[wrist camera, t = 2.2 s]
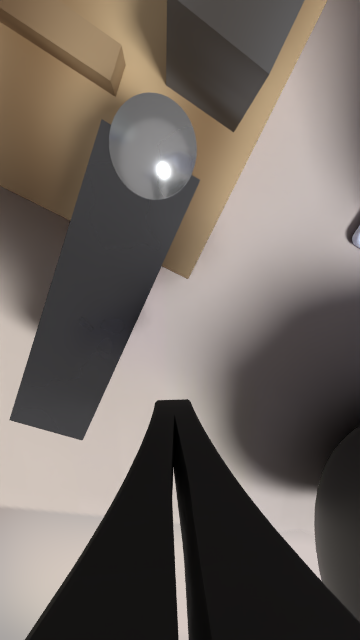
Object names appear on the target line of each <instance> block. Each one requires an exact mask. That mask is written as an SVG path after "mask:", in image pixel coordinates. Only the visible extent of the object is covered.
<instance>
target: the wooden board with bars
mask: <svg viewBox="0 0 360 640" xmlns="http://www.w3.org/2000/svg"><path fill="white" fill-rule="evenodd" d="M326 2H327V0H0V186H1V187H3V188H5V189H7V190H9V191H11V192H13V193H15V194H17V195H19V196H21V197H23V198H25V199H27V200H29V201H31V202H33V203H35V204H37V205H39V206H41V207H43V208H46V209H48V210H50V211H52V212H54V213H56V214H58V215H60V216H62V217H64V218H66V219H68V220H70V221H71V217H72V214H73V211H74V208H75V204H76V201H77V198H78V194H79V191H80V188H81V185H82V181H83V178H84V175H85V172H86V168H87V165H88V162H89V159H90V155H91V152H92V149H93V145H94V142H95V139H96V136H97V132H98V129H99V126H100V123H101V119H103V120H104V121H106V122H107V123H109V124H112V121H113V119H114V116H115V115H116V113H117V111H118V110H119V108H120V107H121V106H122V105H123V104H124V103H125V102H126V101H127V100H128V99H130V98H131V97H133V96H135V95H138V94H141V93H148V92H151V93H158V94H162V95H164V96H167V97H169V98H170V99H172V100H173V101H175V102H176V103H177V104H178V105H179V106H180V107H181V108H182V109H183V110H184V112H185V113H186V114H187V116H188V118H189V120H190V121H191V124H192V126H193V129H194V132H195V137H196V144H197V156H196V162H195V166H194V169H193V172H192V175H193V176H195V177H196V178H198V179H200V182H199V185H198V187H197V189H196V191H195V193H194V196H193V198H192V200H191V202H190V204H189V207H188V209H187V211H186V213H185V215H184V218H183V220H182V222H181V224H180V226H179V229H178V231H177V233H176V235H175V237H174V240H173V242H172V244H171V246H170V248H169V251H168V253H167V255H166V257H165V259H164V262H163V264H162V267H165V268H167V269H169V270H171V271H173V272H175V273H177V274H179V275H181V276H183V277H185V278H187V279H188V278H189V276H190V274H191V272H192V270H193V268H194V266H195V264H196V262H197V260H198V258H199V256H200V254H201V252H202V250H203V248H204V246H205V244H206V242H207V240H208V238H209V236H210V234H211V232H212V230H213V228H214V226H215V224H216V222H217V220H218V218H219V216H220V214H221V212H222V210H223V208H224V206H225V204H226V202H227V200H228V198H229V196H230V194H231V192H232V190H233V188H234V186H235V184H236V182H237V180H238V178H239V176H240V174H241V172H242V170H243V168H244V166H245V164H246V162H247V160H248V158H249V156H250V154H251V152H252V150H253V148H254V146H255V144H256V142H257V140H258V138H259V136H260V134H261V132H262V130H263V128H264V126H265V124H266V122H267V120H268V118H269V116H270V114H271V112H272V110H273V108H274V106H275V104H276V102H277V100H278V98H279V96H280V94H281V92H282V90H283V88H284V86H285V84H286V82H287V80H288V78H289V76H290V74H291V72H292V70H293V68H294V66H295V64H296V62H297V60H298V58H299V56H300V54H301V52H302V50H303V48H304V46H305V44H306V42H307V40H308V38H309V36H310V34H311V32H312V30H313V28H314V26H315V24H316V22H317V20H318V18H319V16H320V14H321V12H322V10H323V8H324V6H325V4H326Z"/></svg>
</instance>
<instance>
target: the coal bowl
mask: <svg viewBox="0 0 360 640" xmlns="http://www.w3.org/2000/svg"><path fill="white" fill-rule="evenodd" d="M314 525H315V542H316V552H317V558H318V564H319V571H320V575H321V580H322V582H323V583H324V585H325V586H326V587H327V588H328V589H329V590H330V591H331V592H332V593H333V594H334V595H335V596H336V597H337V598H338V599H339V600H340V602H341V603H342V604H343V605H344V606H345V607H346V608H347V609H348V610H349V611H350V612H351V613H352V614H353V615H354V616H355V617H356V618H357V620H358V621H359V622H360V426H359V427H357V428H356V429H355V430H353V431H352V432H351V433H350V434H348V435H347V436H346V437H345V438H344V439H343V440H342V441H341V442H340V444H339V445H338V446H337V447H336V448H335V450H334V451H333V453H332V454H331V456H330V458H329V459H328V461H327V463H326V465H325V467H324V470H323V472H322V475H321V479H320V482H319V486H318V489H317V496H316V503H315V522H314Z"/></svg>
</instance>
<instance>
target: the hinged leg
mask: <svg viewBox="0 0 360 640" xmlns="http://www.w3.org/2000/svg"><path fill="white" fill-rule="evenodd" d="M196 156H197V144H196V137H195V132H194V129H193V126H192V124H191V121H190V120H189V118H188V116H187V114H186V113H185V112H184V110H183V109H182V108H181V107H180V106H179V105H178V104H177V103H176V102H175V101H173V100H172V99H170V98H169V97H167V96H164V95H162V94H158V93H151V92H148V93H141V94H138V95H135V96H133V97H131V98H130V99H128V100H127V101H126V102H125V103H124V104H123V105H122V106H121V107H120V108H119V110H118V111H117V113H116V115H115V116H114V119H113V121H112V124H109V123H107V122H106V121H104V120H103V119H101V123H100V126H99V129H98V132H97V136H96V139H95V142H94V145H93V149H92V152H91V155H90V159H89V162H88V165H87V168H86V172H85V175H84V178H83V181H82V185H81V188H80V191H79V194H78V198H77V201H76V204H75V208H74V211H73V214H72V217H71V221H70V224H69V227H68V230H67V234H66V237H65V240H64V244H63V247H62V250H61V253H60V257H59V260H58V263H57V266H56V270H55V273H54V276H53V279H52V283H51V286H50V289H49V293H48V296H47V299H46V302H45V306H44V309H43V312H42V315H41V319H40V322H39V325H38V329H37V332H36V335H35V338H34V342H33V345H32V348H31V351H30V355H29V358H28V361H27V364H26V368H25V371H24V374H23V378H22V381H21V384H20V387H19V391H18V394H17V397H16V400H15V404H14V407H13V410H12V414H11V417H10V420H11V421H14V422H18V423H22V424H25V425H29V426H32V427H36V428H40V429H43V430H47V431H50V432H54V433H58V434H61V435H65V436H68V437H72V438H76V439H79V440H83V438H84V436H85V434H86V432H87V429H88V427H89V425H90V423H91V420H92V418H93V416H94V414H95V412H96V409H97V407H98V405H99V403H100V401H101V398H102V396H103V394H104V392H105V390H106V387H107V385H108V383H109V381H110V379H111V376H112V374H113V372H114V370H115V368H116V365H117V363H118V361H119V359H120V357H121V354H122V352H123V350H124V348H125V346H126V343H127V341H128V339H129V337H130V334H131V332H132V330H133V328H134V326H135V323H136V321H137V319H138V317H139V315H140V312H141V310H142V308H143V306H144V304H145V301H146V299H147V297H148V295H149V293H150V290H151V288H152V286H153V284H154V282H155V279H156V277H157V275H158V273H159V271H160V268H161V266H162V264H163V262H164V259H165V257H166V255H167V253H168V251H169V248H170V246H171V244H172V242H173V240H174V237H175V235H176V233H177V231H178V229H179V226H180V224H181V222H182V220H183V218H184V215H185V213H186V211H187V209H188V207H189V204H190V202H191V200H192V198H193V196H194V193H195V191H196V189H197V187H198V185H199V182H200V179H198V178H196V177H195V176H193V175H192V172H193V169H194V166H195V162H196Z"/></svg>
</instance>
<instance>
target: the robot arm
mask: <svg viewBox="0 0 360 640" xmlns="http://www.w3.org/2000/svg"><path fill="white" fill-rule="evenodd" d="M352 241H353V244H354V245H356V246H357V247H359V248H360V225H359V227H358V228H357V230H356V231H355V233H354V235H353V237H352ZM173 467H174V476H175V484H176V492H177V500H178V509H179V517H180V525H181V533H182V541H183V552H184V563H185V581H186V598H187V616H188V634H189V640H360V622H359V621H358V620H357V618H356V617H355V616H354V615H353V614H352V613H351V612H350V611H349V610H348V609H347V608H346V607H345V606H344V605H343V604H342V603H341V602H340V600H339V599H338V598H337V597H336V596H335V595H334V594H333V593H332V592H331V591H330V590H329V589H328V588H327V587H326V586H325V585H324V583H323V582H322V581H321V580H320V579H319V578H318V577H317V576H316V575H315V574H314V573H313V572H312V570H311V569H310V568H309V567H308V566H307V565H306V564H305V562H304V561H303V560H302V559H301V558H300V557H299V556H298V554H297V553H296V552H295V551H294V550H293V549H292V548H291V546H290V545H289V544H288V543H287V542H286V541H285V540H284V539H283V537H282V536H281V535H280V534H279V533H278V532H277V531H276V529H275V528H274V527H273V526H272V525H271V523H270V522H269V521H268V520H267V518H266V517H265V516H264V515H263V513H262V512H261V511H260V510H259V509H258V507H257V506H256V505H255V504H254V502H253V501H252V500H251V498H250V497H249V496H248V494H247V493H246V492H245V491H244V489H243V488H242V487H241V485H240V484H239V482H238V481H237V480H236V478H235V477H234V476H233V474H232V473H231V471H230V470H229V468H228V467H227V465H226V464H225V462H224V461H223V459H222V458H221V456H220V455H219V453H218V452H217V450H216V449H215V447H214V445H213V444H212V442H211V440H210V439H209V437H208V435H207V434H206V432H205V430H204V429H203V427H202V425H201V423H200V421H199V419H198V417H197V415H196V413H195V411H194V409H193V407H192V404H191V402H190V401H189V400H188V399H186V400H158V401H157V402H156V403H155V407H154V411H153V415H152V418H151V421H150V424H149V427H148V429H147V432H146V434H145V437H144V439H143V441H142V444H141V446H140V449H139V451H138V453H137V455H136V457H135V459H134V461H133V464H132V466H131V468H130V470H129V472H128V474H127V476H126V478H125V480H124V482H123V484H122V486H121V487H120V489H119V491H118V493H117V495H116V497H115V499H114V500H113V502H112V504H111V506H110V507H109V509H108V511H107V513H106V514H105V516H104V518H103V520H102V521H101V523H100V525H99V526H98V528H97V530H96V531H95V533H94V535H93V536H92V538H91V539H90V541H89V543H88V544H87V546H86V548H85V549H84V551H83V553H82V554H81V556H80V557H79V559H78V561H77V562H76V564H75V565H74V567H73V568H72V570H71V572H70V573H69V574H68V576H67V577H66V579H65V581H64V582H63V584H62V585H61V586H60V588H59V589H58V591H57V592H56V594H55V596H54V597H53V598H52V600H51V602H50V603H49V604H48V606H47V607H46V609H45V611H44V612H43V613H42V615H41V616H40V618H39V619H38V621H37V623H36V624H35V625H34V627H33V628H32V630H31V631H30V633H29V635H28V636H27V637H26V639H25V640H178V620H177V600H176V599H177V598H176V578H175V556H174V534H173V510H172V489H173Z"/></svg>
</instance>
